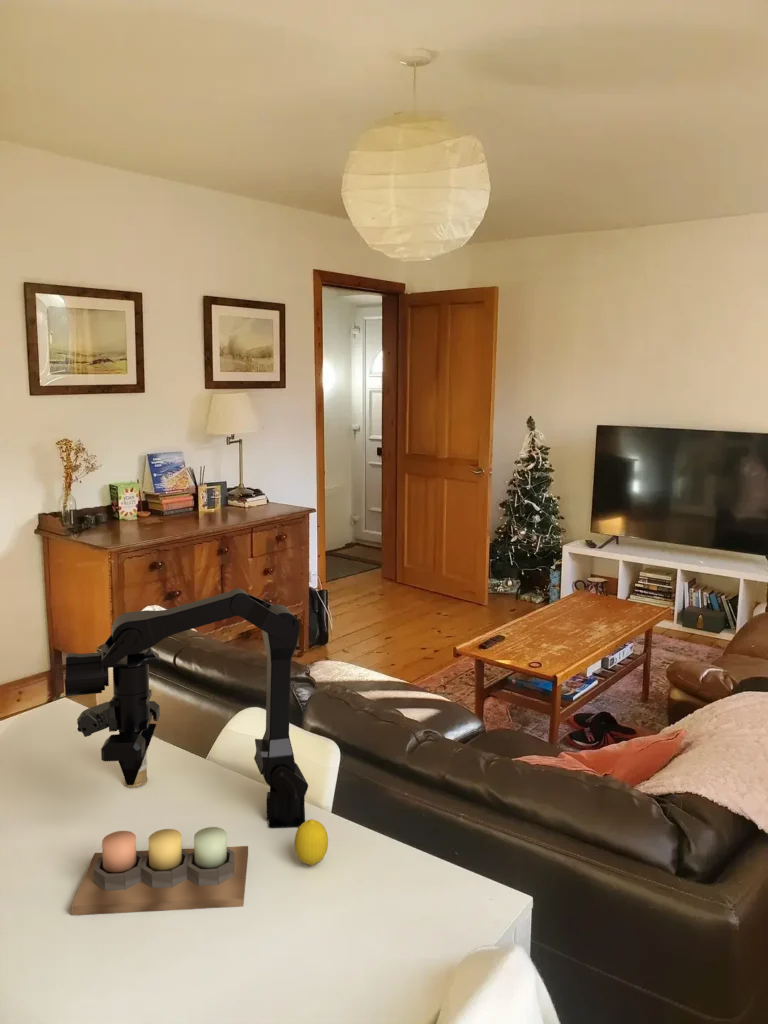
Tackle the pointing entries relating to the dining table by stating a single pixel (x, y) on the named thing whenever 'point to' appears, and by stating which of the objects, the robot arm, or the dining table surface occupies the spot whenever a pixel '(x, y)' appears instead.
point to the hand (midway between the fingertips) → (133, 777)
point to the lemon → (311, 842)
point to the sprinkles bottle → (140, 774)
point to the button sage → (210, 847)
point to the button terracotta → (119, 851)
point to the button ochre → (165, 849)
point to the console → (163, 885)
